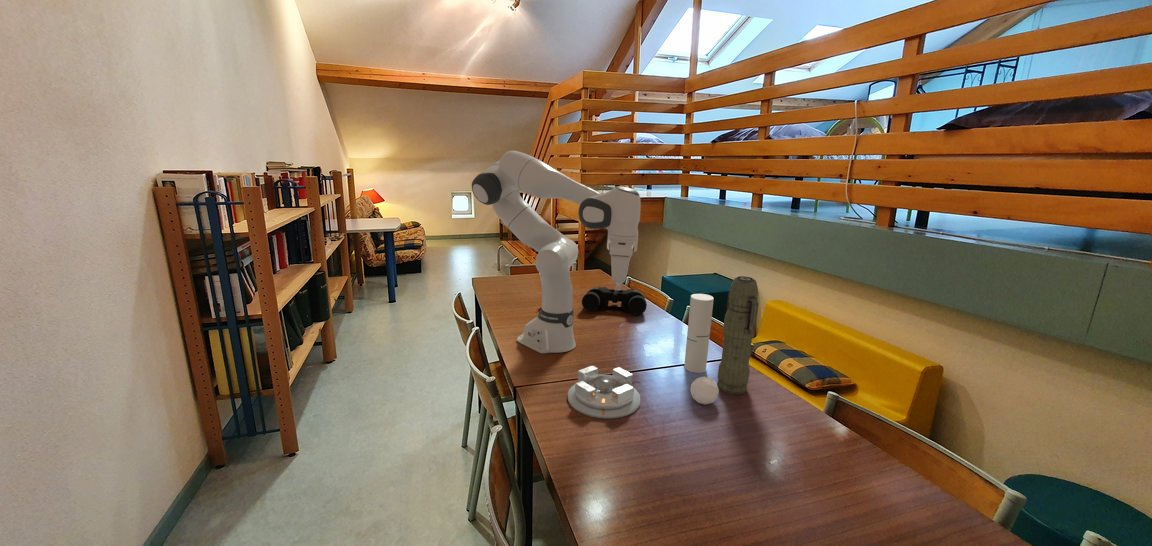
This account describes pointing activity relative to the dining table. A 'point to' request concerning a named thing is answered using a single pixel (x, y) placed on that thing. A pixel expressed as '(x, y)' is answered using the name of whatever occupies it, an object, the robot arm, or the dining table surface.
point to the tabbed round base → (604, 389)
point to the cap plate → (603, 413)
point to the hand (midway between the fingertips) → (618, 289)
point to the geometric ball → (704, 390)
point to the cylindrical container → (698, 332)
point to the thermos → (738, 335)
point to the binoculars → (615, 299)
